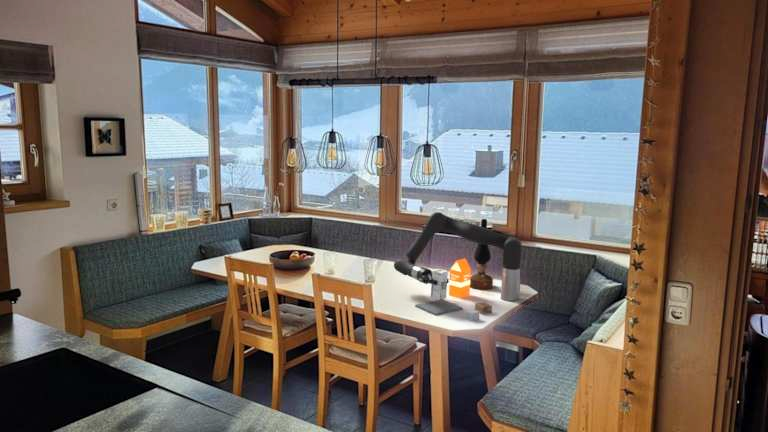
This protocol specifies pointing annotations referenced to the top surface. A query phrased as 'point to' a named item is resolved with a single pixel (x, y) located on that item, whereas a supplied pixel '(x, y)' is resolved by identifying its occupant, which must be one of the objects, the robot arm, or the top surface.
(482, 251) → the oil lamp
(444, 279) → the syrup box
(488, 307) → the walnut block
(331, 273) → the top surface
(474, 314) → the grey plastic block
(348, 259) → the top surface
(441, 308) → the charcoal mat
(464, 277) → the orange juice
